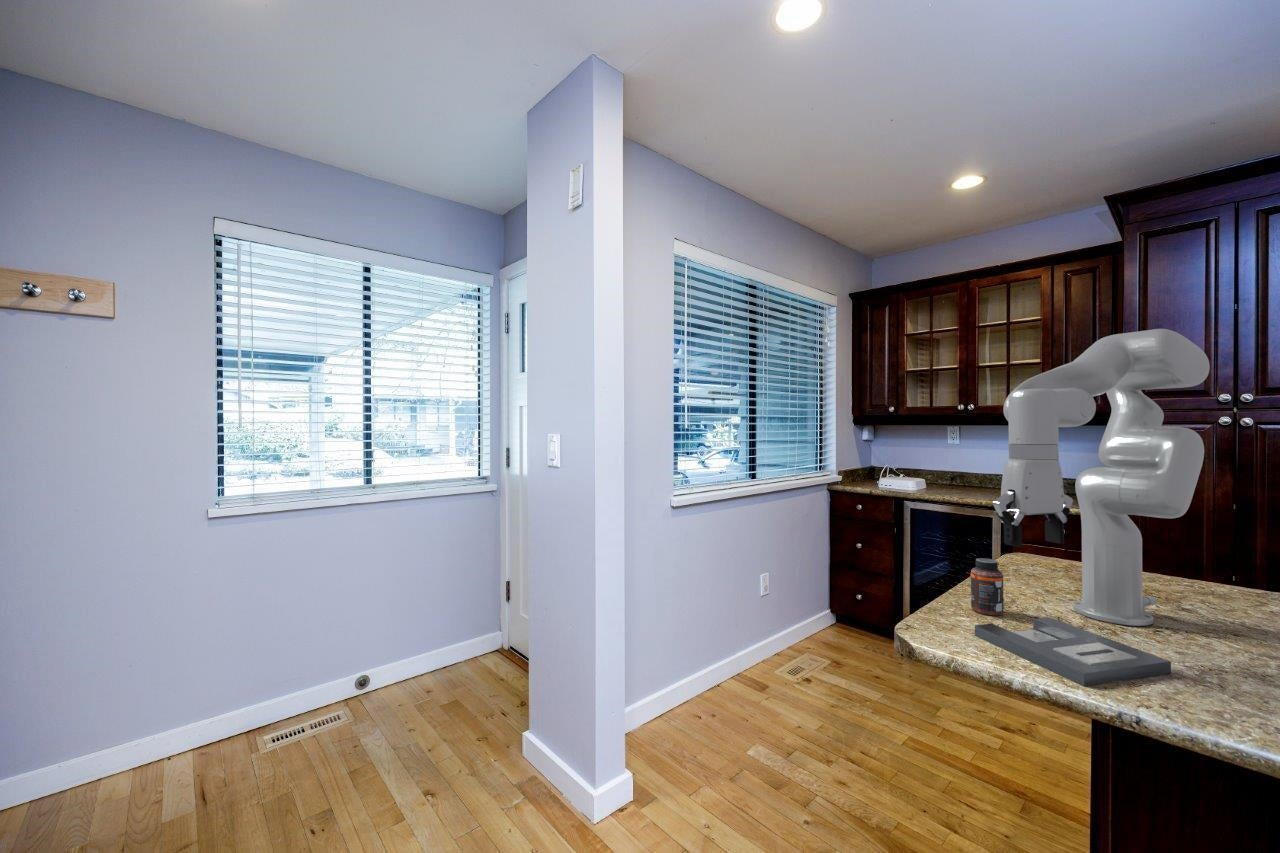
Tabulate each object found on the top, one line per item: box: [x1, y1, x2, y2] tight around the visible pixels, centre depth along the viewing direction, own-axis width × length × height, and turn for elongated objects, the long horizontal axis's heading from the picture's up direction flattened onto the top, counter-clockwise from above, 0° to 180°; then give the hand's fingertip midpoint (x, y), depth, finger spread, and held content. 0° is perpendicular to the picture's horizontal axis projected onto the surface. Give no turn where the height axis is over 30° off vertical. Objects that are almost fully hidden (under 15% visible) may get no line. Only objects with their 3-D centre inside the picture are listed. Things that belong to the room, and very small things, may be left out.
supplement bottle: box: [970, 557, 1005, 617], centre depth 112 cm, size 6×6×11 cm
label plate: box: [974, 617, 1172, 687], centre depth 92 cm, size 18×20×2 cm
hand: (1033, 544), depth 97 cm, fingers open, 9 cm apart
